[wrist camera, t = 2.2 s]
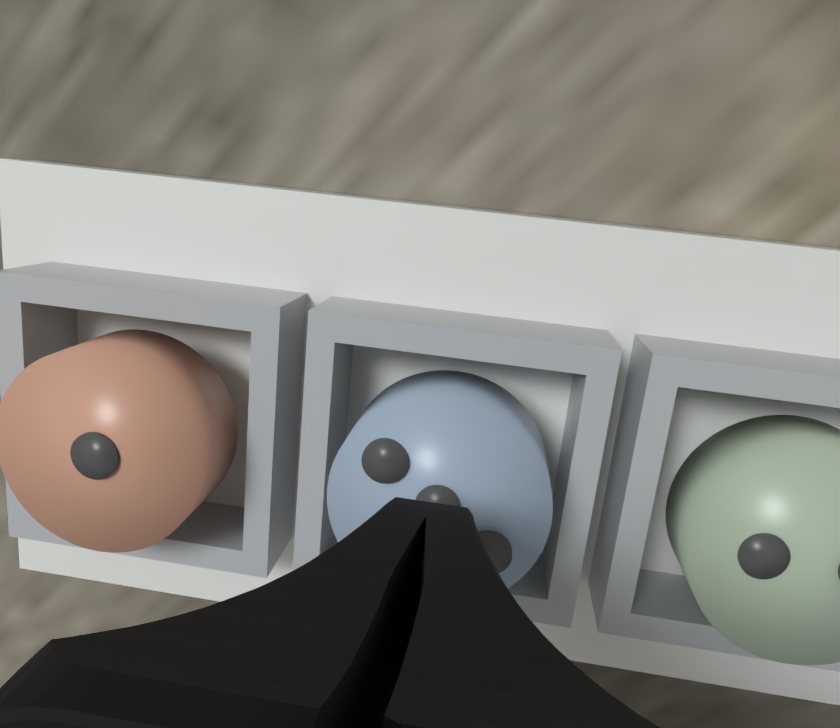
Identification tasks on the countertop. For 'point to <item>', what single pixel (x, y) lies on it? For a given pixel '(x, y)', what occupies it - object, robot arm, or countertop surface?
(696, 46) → the countertop surface
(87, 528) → the terracotta one pip button
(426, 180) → the countertop surface
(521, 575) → the slate three pip button
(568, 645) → the button panel
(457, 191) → the countertop surface
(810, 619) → the sage two pip button
